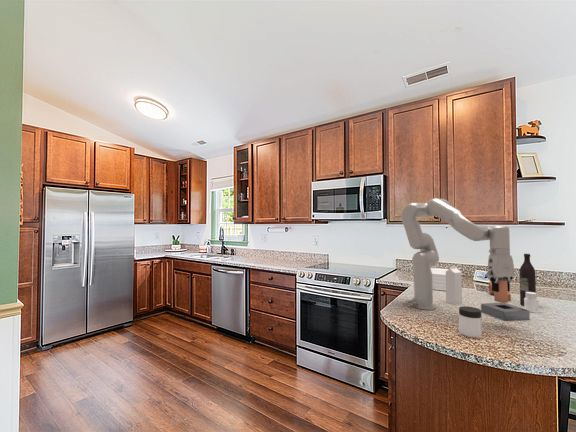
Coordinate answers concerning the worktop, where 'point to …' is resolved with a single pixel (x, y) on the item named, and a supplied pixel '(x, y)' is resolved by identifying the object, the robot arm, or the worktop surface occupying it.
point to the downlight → (531, 302)
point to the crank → (493, 291)
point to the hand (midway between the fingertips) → (500, 290)
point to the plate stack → (439, 278)
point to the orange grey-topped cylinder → (502, 291)
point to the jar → (470, 321)
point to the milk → (453, 286)
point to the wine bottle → (527, 278)
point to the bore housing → (505, 311)
